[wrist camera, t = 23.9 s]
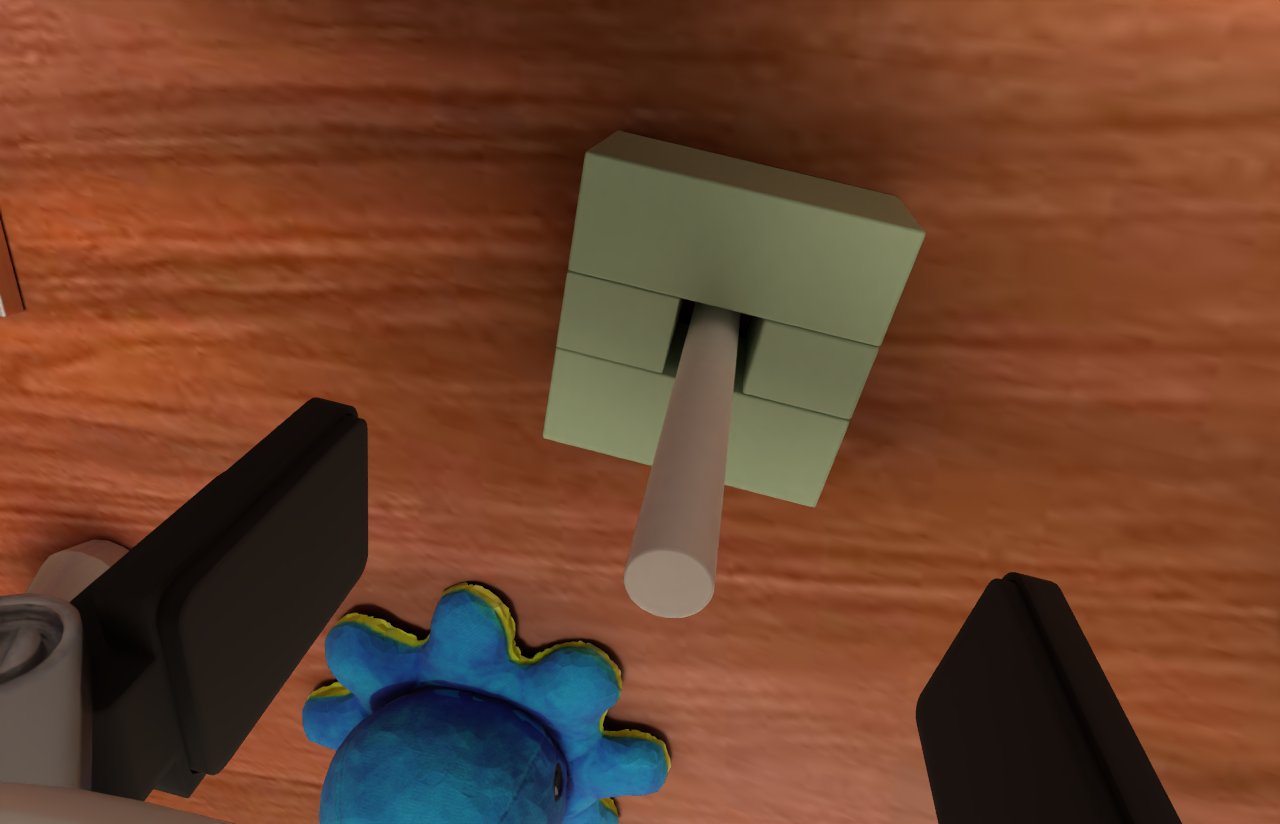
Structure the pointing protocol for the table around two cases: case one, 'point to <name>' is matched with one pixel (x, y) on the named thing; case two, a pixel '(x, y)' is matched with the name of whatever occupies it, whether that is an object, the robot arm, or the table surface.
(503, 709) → the plush toy
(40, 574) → the decorative mushroom
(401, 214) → the table surface
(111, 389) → the table surface
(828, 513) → the table surface
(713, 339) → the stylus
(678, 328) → the pen stand
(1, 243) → the tablet
